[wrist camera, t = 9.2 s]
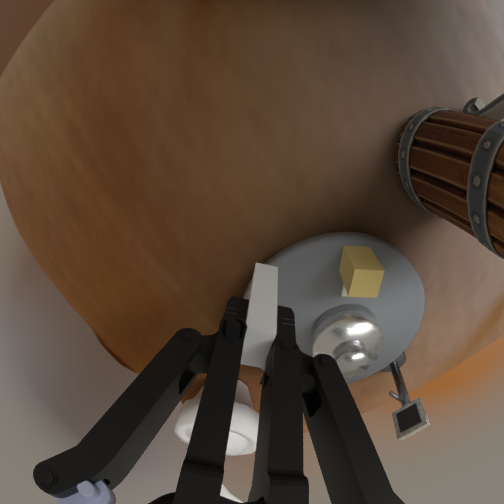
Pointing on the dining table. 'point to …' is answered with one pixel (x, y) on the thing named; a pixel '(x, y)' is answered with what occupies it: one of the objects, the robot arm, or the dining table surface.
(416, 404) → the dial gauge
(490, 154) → the mug
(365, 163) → the dining table surface
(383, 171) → the dining table surface
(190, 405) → the potted plant
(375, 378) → the dining table surface
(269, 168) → the dining table surface
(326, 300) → the turntable
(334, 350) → the cover
